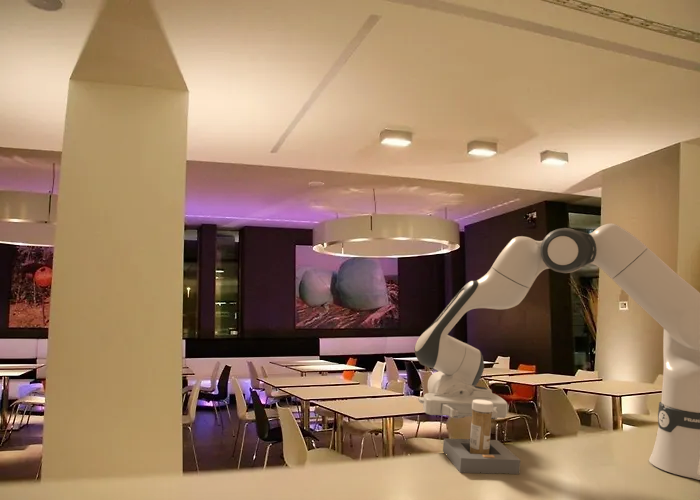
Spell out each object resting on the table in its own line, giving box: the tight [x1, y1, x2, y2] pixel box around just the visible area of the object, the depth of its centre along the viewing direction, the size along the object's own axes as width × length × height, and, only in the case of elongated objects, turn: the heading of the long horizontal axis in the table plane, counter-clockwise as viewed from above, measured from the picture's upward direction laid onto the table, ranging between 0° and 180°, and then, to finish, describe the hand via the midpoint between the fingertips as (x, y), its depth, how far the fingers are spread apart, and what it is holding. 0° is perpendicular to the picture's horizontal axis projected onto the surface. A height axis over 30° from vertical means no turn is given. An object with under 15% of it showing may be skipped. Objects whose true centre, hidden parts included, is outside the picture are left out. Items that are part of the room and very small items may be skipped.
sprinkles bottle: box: [469, 399, 493, 454], centre depth 134 cm, size 5×5×14 cm
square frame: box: [442, 438, 521, 475], centre depth 133 cm, size 13×13×3 cm
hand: (474, 414), depth 138 cm, fingers open, 8 cm apart
